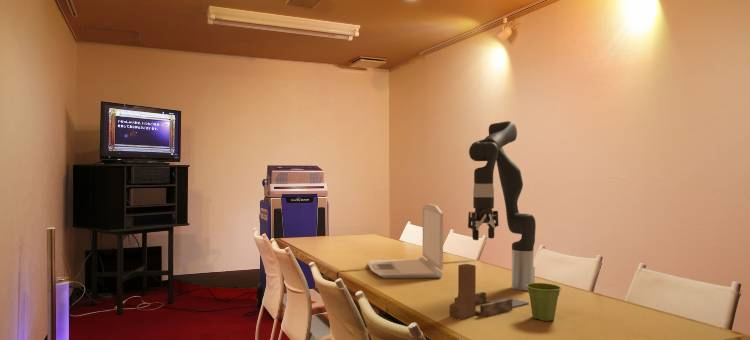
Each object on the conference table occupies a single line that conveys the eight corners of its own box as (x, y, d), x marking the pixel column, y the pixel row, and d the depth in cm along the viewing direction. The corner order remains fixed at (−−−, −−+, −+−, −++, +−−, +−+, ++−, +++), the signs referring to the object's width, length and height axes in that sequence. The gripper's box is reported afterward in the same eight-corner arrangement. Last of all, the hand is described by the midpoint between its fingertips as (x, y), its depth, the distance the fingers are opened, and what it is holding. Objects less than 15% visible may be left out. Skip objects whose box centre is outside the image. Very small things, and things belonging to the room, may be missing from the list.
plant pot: (568, 321, 170) (568, 288, 170) (539, 324, 167) (539, 290, 167) (547, 312, 181) (547, 281, 182) (519, 314, 178) (519, 283, 178)
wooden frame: (483, 302, 196) (483, 291, 196) (512, 309, 184) (512, 299, 184) (454, 308, 186) (454, 297, 186) (483, 317, 175) (483, 305, 175)
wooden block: (458, 320, 171) (458, 268, 171) (449, 317, 174) (449, 266, 175) (475, 316, 176) (476, 265, 177) (466, 313, 180) (466, 263, 180)
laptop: (365, 265, 275) (366, 202, 275) (424, 264, 279) (424, 202, 279) (374, 281, 234) (374, 207, 234) (442, 280, 237) (443, 207, 238)
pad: (505, 298, 202) (505, 296, 202) (528, 304, 193) (528, 302, 193) (489, 302, 196) (489, 300, 196) (512, 308, 187) (512, 306, 187)
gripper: (488, 195, 193) (488, 236, 193) (462, 195, 184) (462, 239, 184) (504, 195, 187) (503, 238, 187) (478, 196, 178) (478, 241, 178)
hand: (483, 239), depth 185 cm, fingers open, 8 cm apart
